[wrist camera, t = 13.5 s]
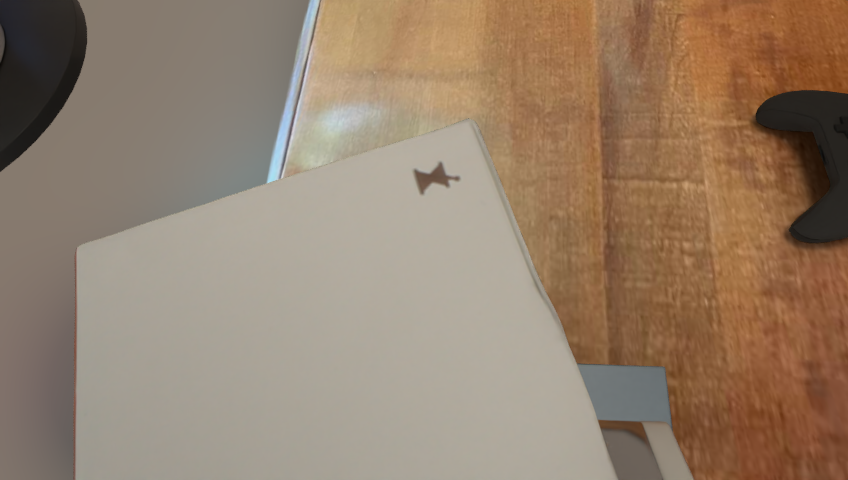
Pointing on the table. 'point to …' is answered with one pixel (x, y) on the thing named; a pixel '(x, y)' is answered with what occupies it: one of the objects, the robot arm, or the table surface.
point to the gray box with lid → (627, 392)
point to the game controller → (839, 147)
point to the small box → (332, 334)
